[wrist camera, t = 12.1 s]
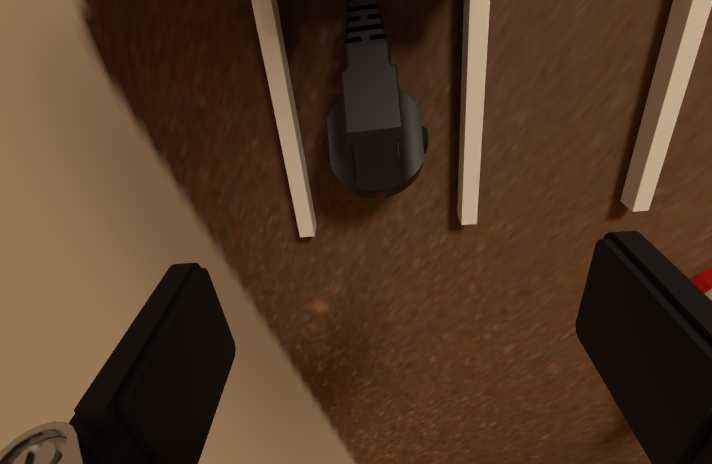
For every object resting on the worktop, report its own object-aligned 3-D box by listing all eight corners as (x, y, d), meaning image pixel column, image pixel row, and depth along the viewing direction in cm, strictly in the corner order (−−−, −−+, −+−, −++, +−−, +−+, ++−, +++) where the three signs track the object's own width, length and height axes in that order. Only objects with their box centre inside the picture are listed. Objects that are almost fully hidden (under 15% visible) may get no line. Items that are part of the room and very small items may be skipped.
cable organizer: (245, -63, 20) (222, -72, 17) (728, -126, 19) (808, -150, 15) (303, 226, 29) (294, 258, 26) (635, 200, 28) (673, 230, 24)
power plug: (414, -69, 20) (439, 176, 19) (408, 22, 27) (425, 200, 26) (299, -52, 20) (318, 188, 19) (324, 33, 28) (339, 208, 27)
